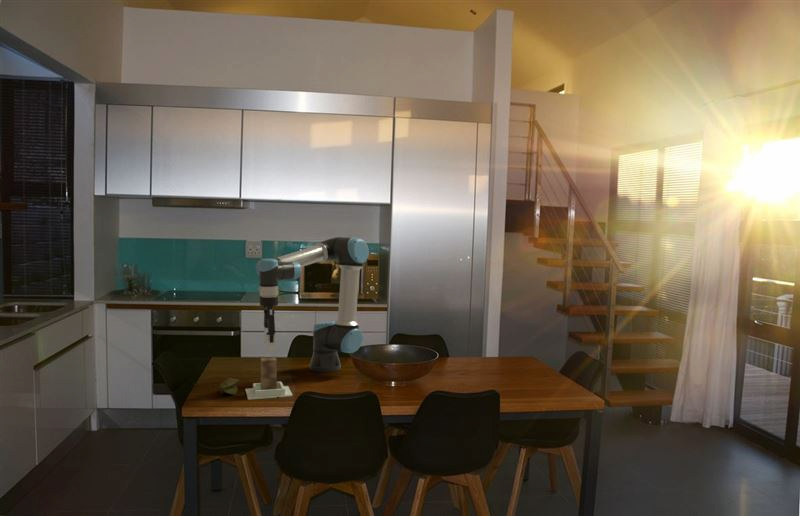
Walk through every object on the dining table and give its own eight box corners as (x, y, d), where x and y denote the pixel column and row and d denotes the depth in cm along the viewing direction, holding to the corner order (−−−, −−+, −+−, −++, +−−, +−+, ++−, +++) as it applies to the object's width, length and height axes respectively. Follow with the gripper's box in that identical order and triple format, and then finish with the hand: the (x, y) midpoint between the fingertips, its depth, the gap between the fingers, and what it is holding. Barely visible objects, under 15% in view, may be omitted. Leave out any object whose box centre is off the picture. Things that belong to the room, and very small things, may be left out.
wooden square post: (275, 389, 261) (275, 357, 260) (276, 393, 257) (276, 359, 256) (260, 390, 259) (260, 358, 259) (261, 394, 255) (262, 360, 254)
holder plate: (287, 387, 268) (288, 380, 267) (292, 396, 254) (292, 389, 254) (245, 390, 262) (245, 383, 262) (248, 399, 249) (248, 392, 248)
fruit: (248, 394, 257) (248, 378, 256) (221, 399, 249) (221, 383, 248) (235, 388, 265) (235, 373, 265) (208, 393, 257) (208, 377, 257)
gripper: (256, 292, 266) (257, 340, 268) (262, 300, 242) (263, 353, 244) (274, 291, 268) (275, 339, 270) (281, 300, 245) (282, 352, 246)
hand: (269, 346), depth 257 cm, fingers open, 13 cm apart
